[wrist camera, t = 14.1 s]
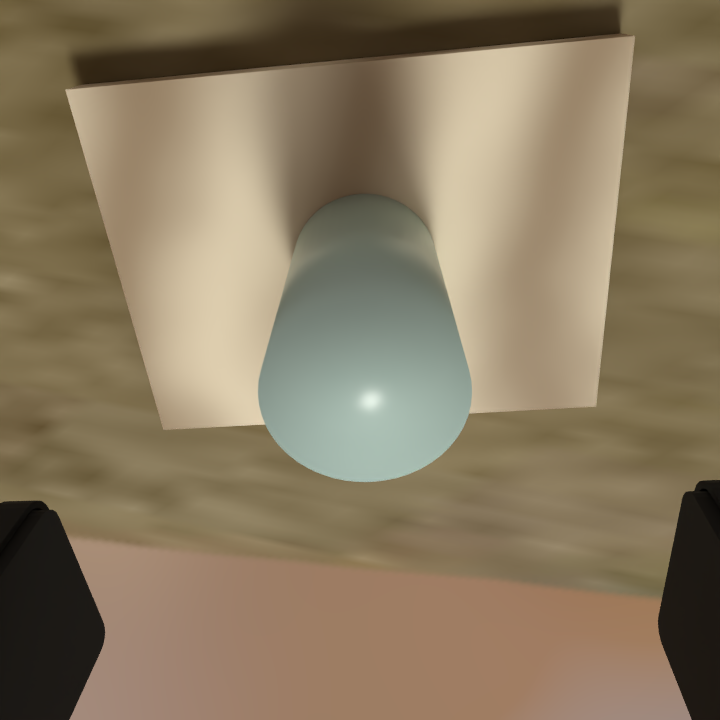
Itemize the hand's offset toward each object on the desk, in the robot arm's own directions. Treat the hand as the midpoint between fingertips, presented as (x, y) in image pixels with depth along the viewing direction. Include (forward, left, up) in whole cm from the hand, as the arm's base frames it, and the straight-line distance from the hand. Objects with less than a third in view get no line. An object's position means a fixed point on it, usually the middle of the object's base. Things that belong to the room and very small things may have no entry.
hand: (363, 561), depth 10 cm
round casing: (0, 0, -13) cm, 13 cm away
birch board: (+1, 0, -14) cm, 14 cm away
